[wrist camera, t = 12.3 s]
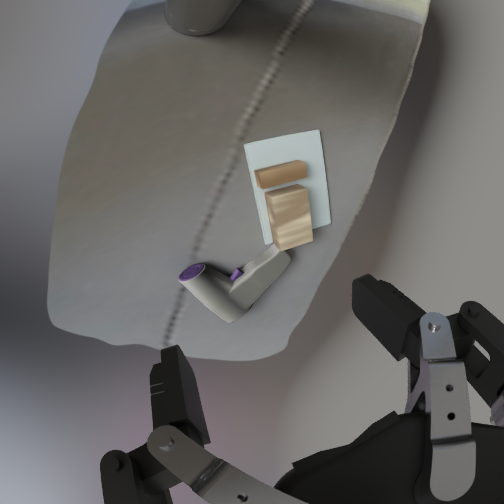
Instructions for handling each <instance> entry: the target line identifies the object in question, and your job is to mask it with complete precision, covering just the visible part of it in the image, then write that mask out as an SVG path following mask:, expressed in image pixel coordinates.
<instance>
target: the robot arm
mask: <svg viewBox="0 0 504 504" xmlns="http://www.w3.org/2000/svg"><path fill="white" fill-rule="evenodd" d="M240 2H241V0H165V17H166V20H167V22H168V24H169V25H170V26H171V27H172V28H173V29H174V30H176V31H177V32H180V33H182V34H185V35H190V36H202V35H207V34H211V33H213V32H215V31H217V30H219V29H220V28H222V27H223V26H224V25H225V24H226V22H227V21H228V19H229V18H230V16H231V15H232V13H233V12H234V11H235V9H236V8H237V6H238V5H239V3H240ZM352 309H353V312H354V314H355V316H356V317H357V318H358V319H359V320H360V321H361V322H362V323H363V325H364V326H365V327H366V328H367V329H368V330H369V331H370V332H371V333H372V334H373V335H374V336H375V337H376V338H377V339H378V341H379V342H381V344H382V345H383V346H384V347H385V348H386V349H387V350H388V351H389V352H390V353H391V355H392V356H393V357H394V358H395V359H396V360H397V361H400V360H401V359H403V358H404V357H407V358H408V398H407V403H406V408H405V413H404V414H400V415H397V413H396V412H395V411H393V412H391V413H390V414H388V415H386V416H385V417H383V418H382V419H380V420H378V421H377V422H375V423H373V424H372V425H371V426H370V427H369V428H368V429H366V430H365V431H364V432H363V433H362V434H361V435H360V436H359V437H358V438H357V439H355V440H354V441H353V442H352V443H350V444H348V445H345V446H341V447H337V448H333V449H329V450H324V451H320V452H317V453H315V454H313V455H311V456H308V457H306V458H303V459H301V460H299V461H296V462H293V463H292V464H293V467H294V468H293V469H291V470H290V471H289V472H287V473H286V474H285V475H284V476H283V477H282V478H281V479H280V480H279V481H278V482H277V483H276V485H275V486H274V488H273V487H271V486H269V485H267V484H265V483H263V482H261V481H259V480H257V479H256V478H254V477H252V476H250V475H248V474H246V473H245V472H243V471H241V470H240V469H238V468H236V467H235V466H233V465H231V464H230V463H228V462H226V461H224V460H222V459H220V458H217V457H216V456H215V455H213V454H211V453H210V452H208V451H207V450H206V449H205V448H204V444H209V443H211V442H210V438H209V434H208V430H207V426H206V422H205V418H204V414H203V410H202V405H201V401H200V397H199V392H198V387H197V383H196V378H195V375H194V372H193V370H192V368H191V366H190V364H189V362H188V361H187V359H186V357H185V355H184V354H183V352H182V350H181V348H180V347H179V345H175V346H172V347H168V348H165V349H162V350H161V363H158V364H154V365H153V368H152V370H151V373H150V386H151V388H150V392H151V406H152V419H153V431H152V432H151V433H150V435H149V437H148V439H147V442H146V443H145V444H144V445H142V446H140V447H138V448H136V449H135V450H132V451H130V452H129V453H124V452H123V451H120V450H112V451H109V452H107V453H106V454H105V455H104V456H103V458H102V459H101V462H100V472H101V482H102V490H103V497H104V504H173V502H172V499H171V495H170V491H169V488H171V487H173V486H175V485H177V484H178V483H181V482H184V483H185V484H186V485H188V486H189V487H190V488H191V489H192V490H193V492H195V493H196V494H197V495H198V496H200V497H201V498H202V499H204V500H205V501H207V502H208V503H209V504H504V324H503V323H502V322H500V320H498V319H497V318H496V317H495V316H494V315H493V314H491V313H490V312H489V311H488V310H487V309H486V308H484V307H483V306H482V305H481V304H479V303H477V302H475V301H467V302H465V303H463V304H462V305H461V308H460V311H459V313H456V314H453V315H450V316H446V317H445V316H444V315H442V314H440V313H436V312H430V313H426V312H425V311H424V310H423V309H421V308H420V307H419V306H418V305H416V304H415V303H414V302H413V301H411V300H410V299H409V298H408V297H407V296H404V294H403V293H402V292H400V291H398V289H397V288H396V287H394V286H393V285H392V284H391V283H388V282H385V281H383V280H379V281H377V280H376V279H375V278H374V277H373V276H371V275H370V274H366V275H363V276H361V277H359V278H357V279H355V280H353V283H352ZM475 340H476V341H477V342H478V343H479V344H480V345H481V346H482V347H483V348H484V349H485V350H486V351H487V352H488V353H489V356H490V361H489V360H488V359H487V358H486V357H485V356H484V355H483V354H482V353H481V352H480V351H479V350H478V349H477V348H476V347H475V346H474V343H475ZM467 381H468V382H469V383H470V384H471V385H472V386H473V388H474V389H475V390H476V391H477V392H478V394H479V395H480V396H481V397H482V398H483V400H484V401H485V402H486V403H487V404H488V405H489V407H490V408H491V417H490V422H491V423H492V424H493V425H488V424H480V423H474V422H471V416H470V404H469V394H468V386H467Z"/></svg>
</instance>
